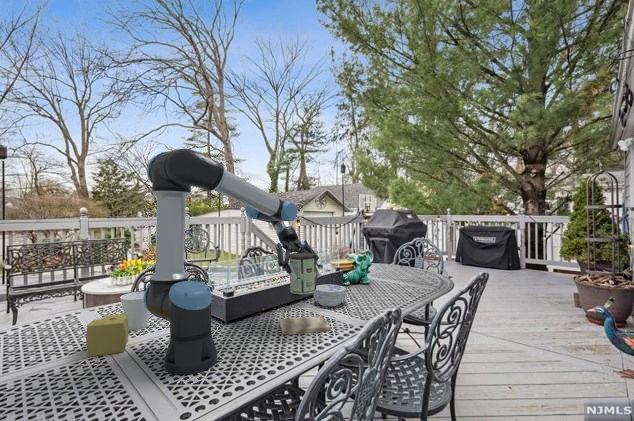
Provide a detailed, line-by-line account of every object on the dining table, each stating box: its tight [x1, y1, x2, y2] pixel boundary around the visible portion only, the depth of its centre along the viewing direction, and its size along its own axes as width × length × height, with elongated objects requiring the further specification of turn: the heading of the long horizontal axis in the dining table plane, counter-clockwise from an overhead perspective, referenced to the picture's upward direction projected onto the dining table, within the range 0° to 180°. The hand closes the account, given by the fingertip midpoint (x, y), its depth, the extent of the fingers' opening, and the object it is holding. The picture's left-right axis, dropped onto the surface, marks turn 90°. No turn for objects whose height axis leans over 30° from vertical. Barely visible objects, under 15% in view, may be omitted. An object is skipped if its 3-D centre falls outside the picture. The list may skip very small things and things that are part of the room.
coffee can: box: [289, 252, 317, 295], centre depth 132 cm, size 10×10×14 cm
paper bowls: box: [313, 284, 347, 308], centre depth 163 cm, size 15×15×8 cm
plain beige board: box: [278, 315, 332, 336], centre depth 133 cm, size 18×13×2 cm
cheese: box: [85, 313, 129, 358], centre depth 113 cm, size 10×11×10 cm
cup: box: [119, 290, 151, 331], centre depth 133 cm, size 12×12×12 cm
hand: (307, 278), depth 129 cm, fingers closed on coffee can, 10 cm apart
